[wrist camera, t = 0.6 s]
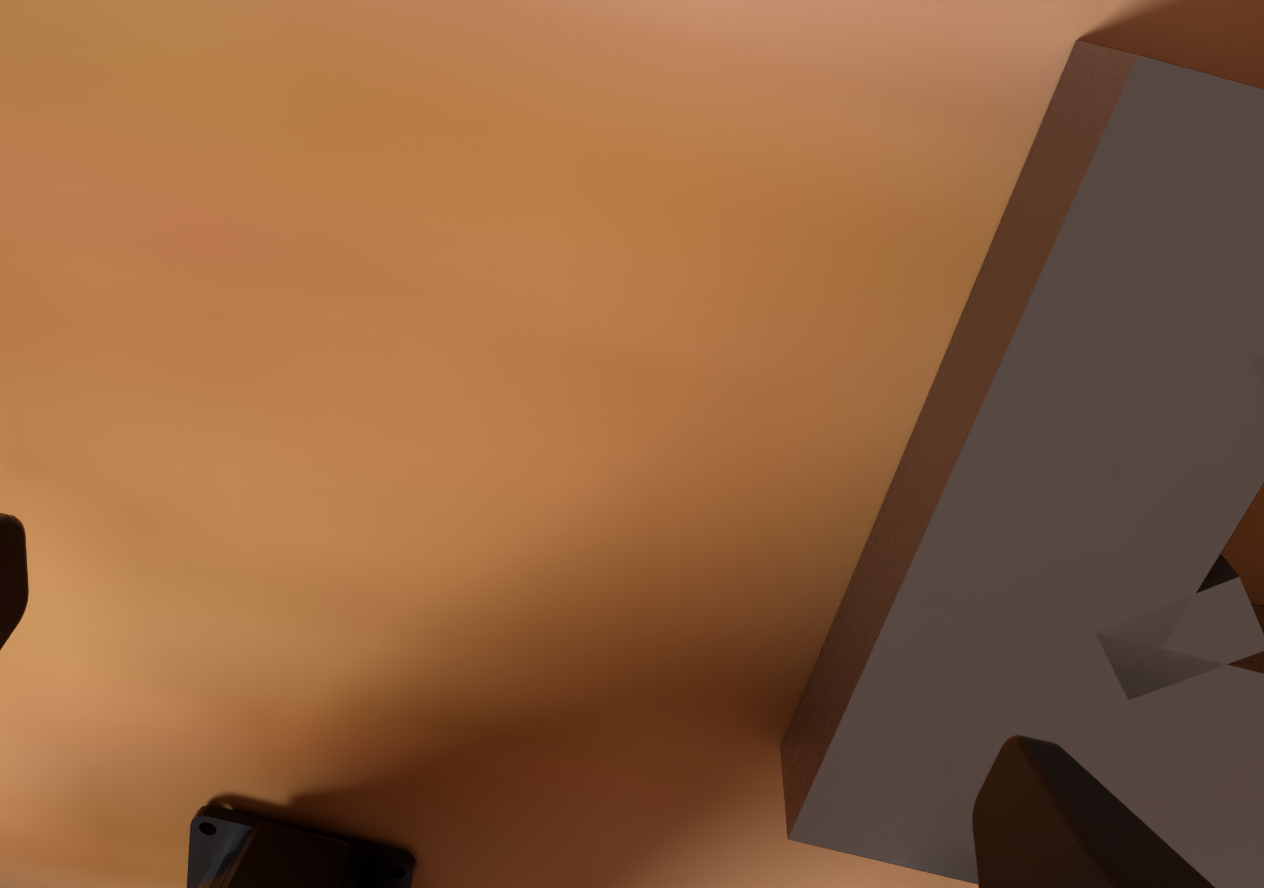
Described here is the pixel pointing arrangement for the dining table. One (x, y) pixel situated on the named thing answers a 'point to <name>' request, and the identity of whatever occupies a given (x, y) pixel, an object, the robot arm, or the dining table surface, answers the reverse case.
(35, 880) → the dining table surface
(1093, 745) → the duct plate
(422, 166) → the dining table surface
